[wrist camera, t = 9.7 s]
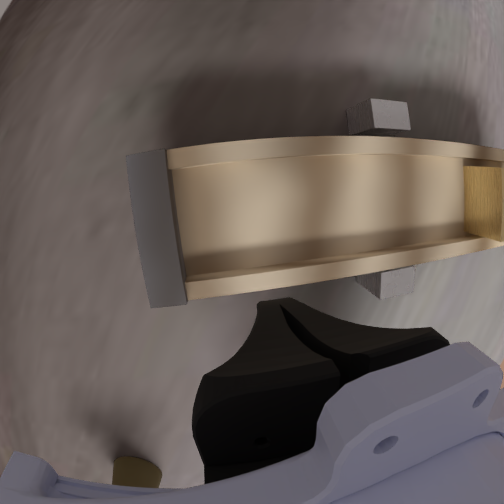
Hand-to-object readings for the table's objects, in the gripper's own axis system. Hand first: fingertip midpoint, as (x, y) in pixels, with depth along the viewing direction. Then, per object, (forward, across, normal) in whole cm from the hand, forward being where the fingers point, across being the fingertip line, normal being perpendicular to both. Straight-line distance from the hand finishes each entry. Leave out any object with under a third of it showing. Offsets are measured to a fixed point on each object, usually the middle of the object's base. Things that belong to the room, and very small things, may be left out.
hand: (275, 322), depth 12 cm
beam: (+7, -10, -4) cm, 13 cm away
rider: (+6, -19, -4) cm, 20 cm away
